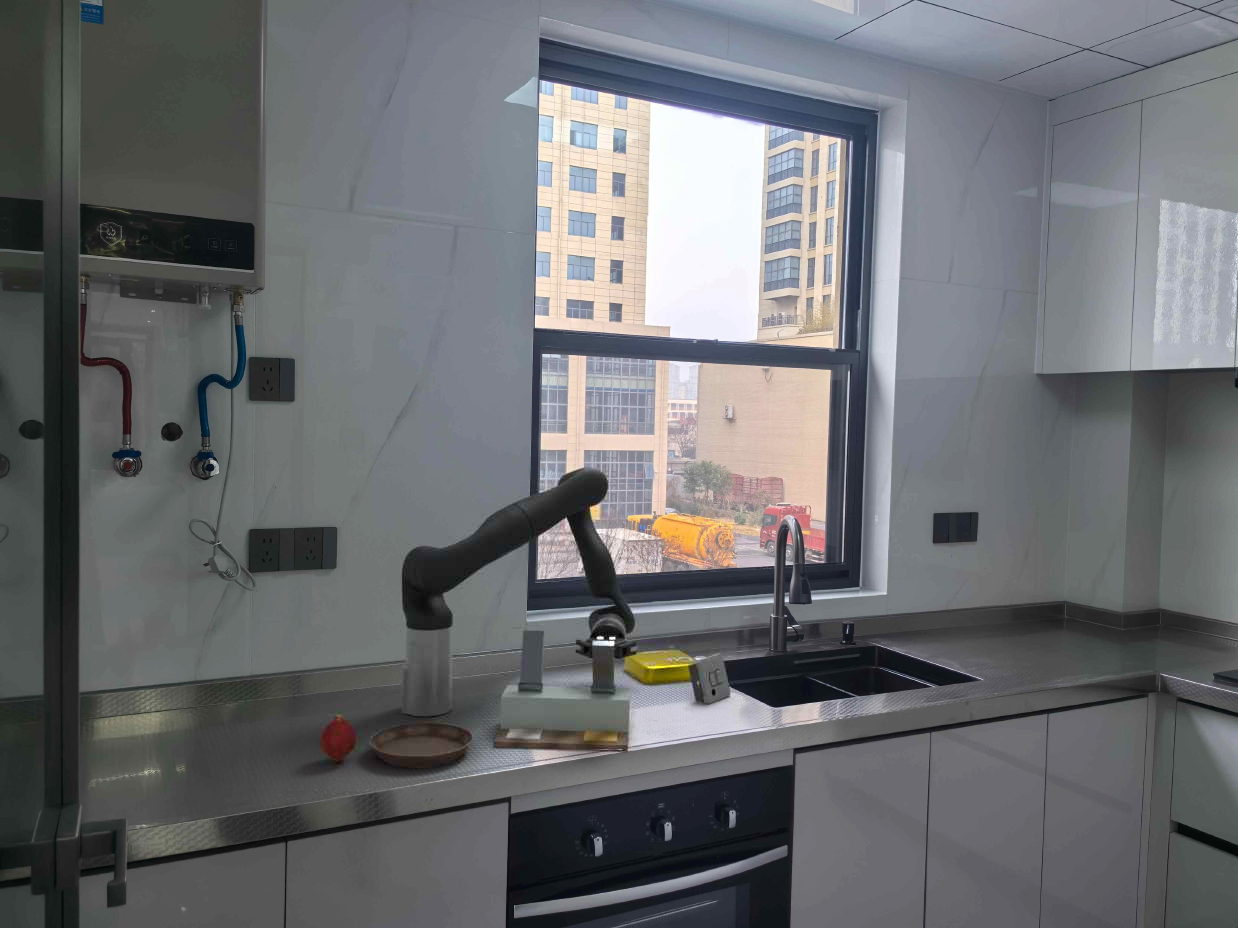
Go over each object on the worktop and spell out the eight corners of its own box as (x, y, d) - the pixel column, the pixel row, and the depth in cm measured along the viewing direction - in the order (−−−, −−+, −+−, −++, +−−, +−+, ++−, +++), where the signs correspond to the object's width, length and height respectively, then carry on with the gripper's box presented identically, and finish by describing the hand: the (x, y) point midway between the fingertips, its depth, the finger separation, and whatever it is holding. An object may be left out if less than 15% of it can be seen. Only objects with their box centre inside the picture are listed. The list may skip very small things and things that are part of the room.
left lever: (517, 690, 163) (521, 630, 167) (518, 690, 164) (522, 631, 168) (541, 691, 163) (545, 630, 166) (542, 691, 164) (546, 631, 168)
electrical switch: (708, 705, 181) (705, 661, 181) (688, 703, 184) (685, 659, 184) (731, 696, 188) (728, 653, 188) (711, 693, 191) (709, 652, 192)
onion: (325, 755, 148) (325, 709, 147) (359, 754, 148) (359, 708, 148) (316, 767, 142) (316, 719, 142) (351, 767, 142) (352, 719, 142)
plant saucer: (462, 733, 161) (462, 717, 161) (482, 766, 144) (482, 748, 144) (364, 743, 154) (365, 726, 154) (374, 779, 138) (374, 760, 138)
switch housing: (500, 728, 160) (501, 696, 160) (507, 715, 168) (507, 684, 168) (628, 732, 159) (629, 700, 159) (629, 718, 167) (629, 688, 167)
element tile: (677, 665, 215) (678, 647, 215) (704, 681, 201) (704, 661, 201) (622, 670, 209) (622, 651, 209) (645, 686, 195) (645, 666, 195)
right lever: (591, 694, 163) (590, 645, 158) (591, 688, 165) (591, 640, 160) (615, 695, 163) (615, 646, 158) (615, 689, 164) (615, 640, 160)
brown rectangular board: (493, 746, 153) (494, 738, 153) (508, 718, 169) (508, 711, 169) (627, 750, 152) (627, 742, 152) (629, 722, 168) (629, 715, 168)
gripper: (577, 619, 180) (569, 637, 163) (639, 620, 180) (638, 639, 163) (576, 654, 180) (568, 676, 163) (639, 656, 180) (638, 678, 163)
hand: (603, 657), depth 163 cm, fingers closed
